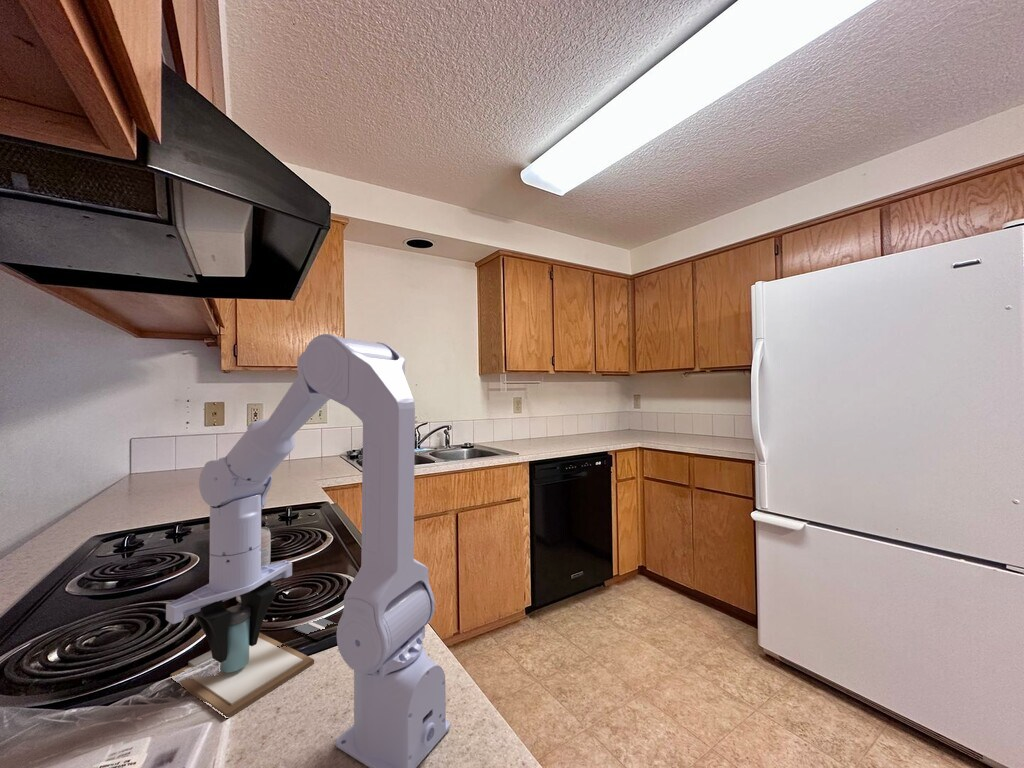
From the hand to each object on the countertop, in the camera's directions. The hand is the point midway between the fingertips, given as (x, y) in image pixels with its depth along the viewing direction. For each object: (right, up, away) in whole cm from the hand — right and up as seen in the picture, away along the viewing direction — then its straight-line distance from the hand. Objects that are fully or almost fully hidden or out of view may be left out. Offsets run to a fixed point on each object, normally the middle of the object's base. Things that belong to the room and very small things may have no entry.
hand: (235, 650), depth 54 cm
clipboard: (+1, -3, +1) cm, 3 cm away
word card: (+6, -3, +10) cm, 12 cm away
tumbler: (0, -2, 0) cm, 2 cm away
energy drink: (-11, -4, +21) cm, 24 cm away
